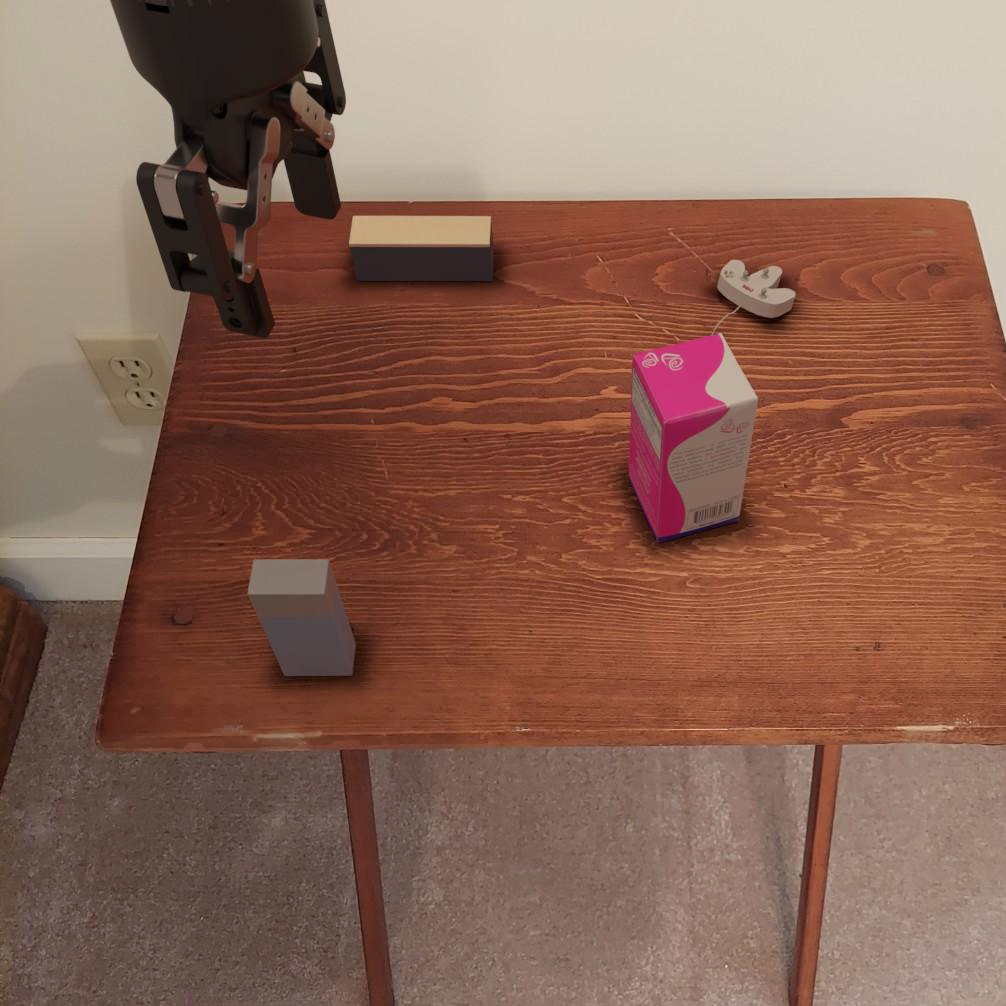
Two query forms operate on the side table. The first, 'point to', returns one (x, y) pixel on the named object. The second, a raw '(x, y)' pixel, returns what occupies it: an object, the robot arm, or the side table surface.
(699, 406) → the supplement box
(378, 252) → the stand
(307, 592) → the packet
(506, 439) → the side table surface
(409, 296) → the side table surface
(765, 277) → the game controller
